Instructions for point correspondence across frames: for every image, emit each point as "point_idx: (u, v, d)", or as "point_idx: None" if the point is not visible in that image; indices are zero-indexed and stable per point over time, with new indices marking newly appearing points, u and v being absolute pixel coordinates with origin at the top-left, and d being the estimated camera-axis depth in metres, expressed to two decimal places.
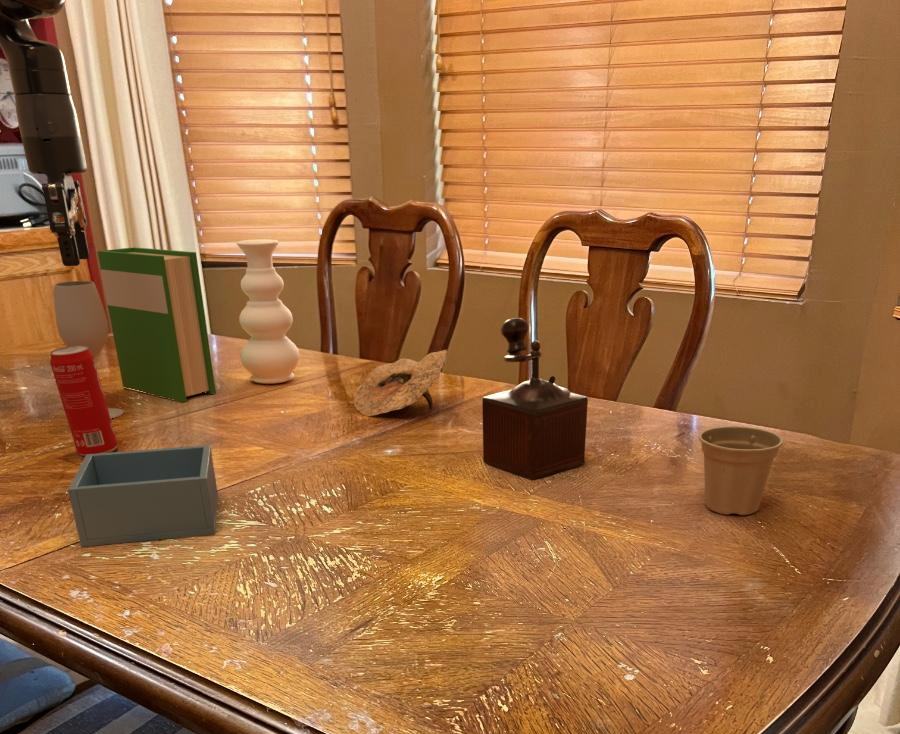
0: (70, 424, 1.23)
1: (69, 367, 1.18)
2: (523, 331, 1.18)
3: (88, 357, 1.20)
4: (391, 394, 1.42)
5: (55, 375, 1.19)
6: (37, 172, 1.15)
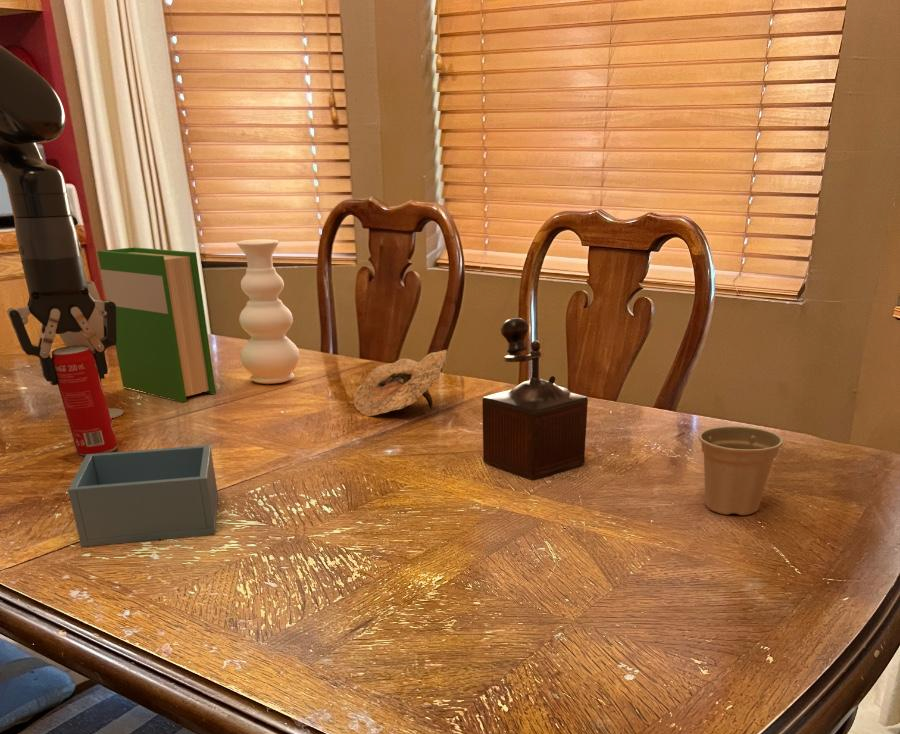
0: (70, 423, 1.23)
1: (70, 367, 1.18)
2: (523, 331, 1.18)
3: (89, 357, 1.20)
4: (391, 394, 1.42)
5: (56, 374, 1.19)
6: None
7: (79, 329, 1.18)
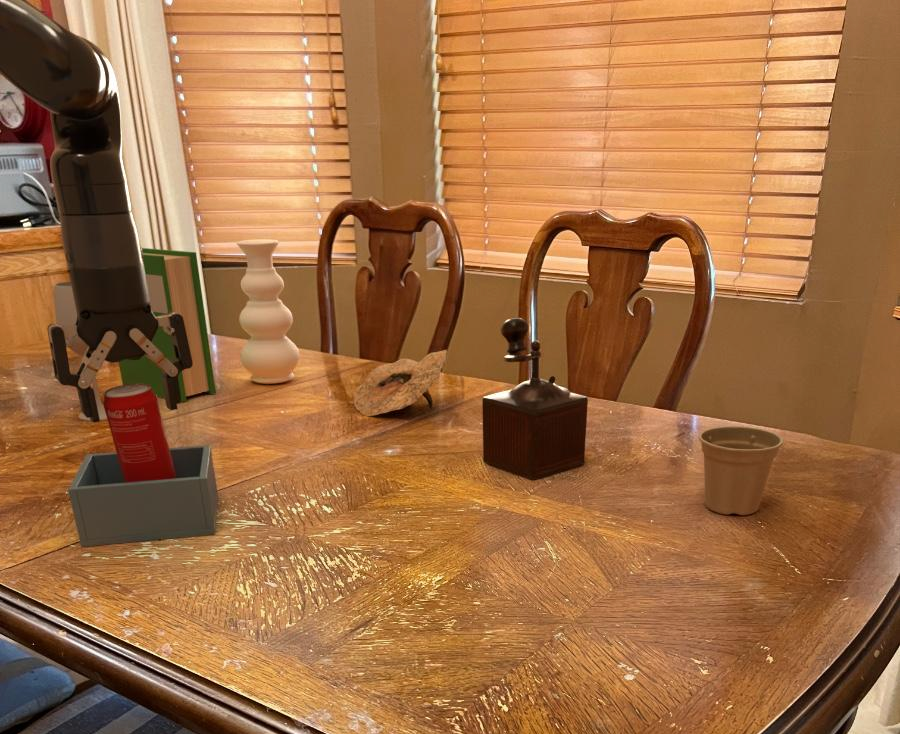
0: (127, 481, 0.99)
1: (128, 412, 0.94)
2: (523, 331, 1.18)
3: (151, 399, 0.95)
4: (391, 394, 1.42)
5: (110, 421, 0.95)
6: None
7: (144, 354, 0.94)
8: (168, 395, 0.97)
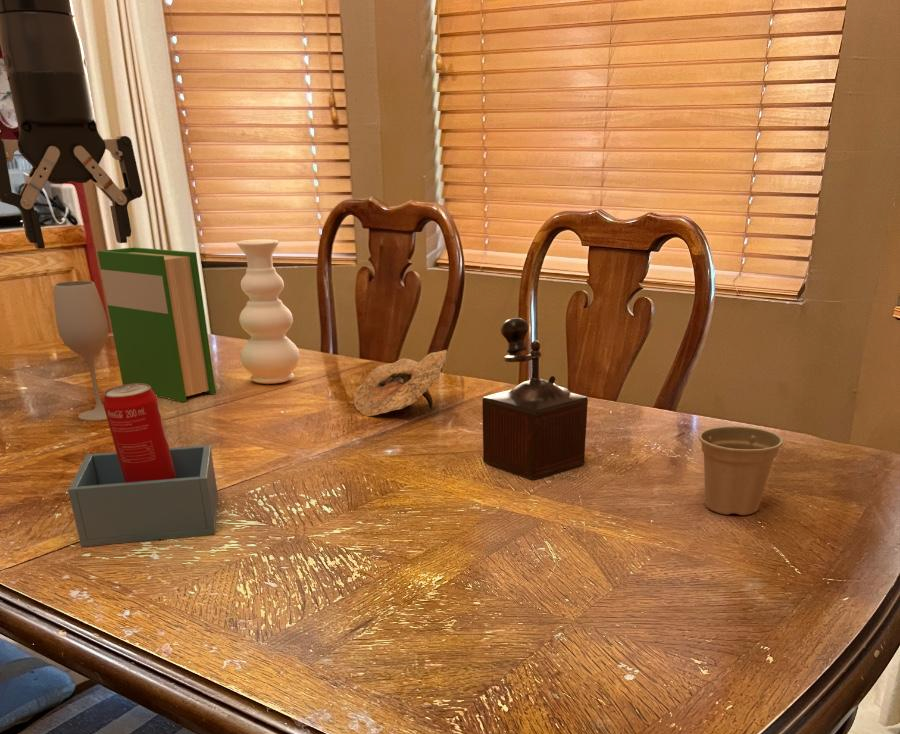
0: (127, 481, 0.99)
1: (128, 412, 0.94)
2: (523, 331, 1.18)
3: (151, 399, 0.95)
4: (391, 394, 1.42)
5: (110, 421, 0.95)
6: None
7: (90, 178, 0.91)
8: (117, 226, 0.94)
